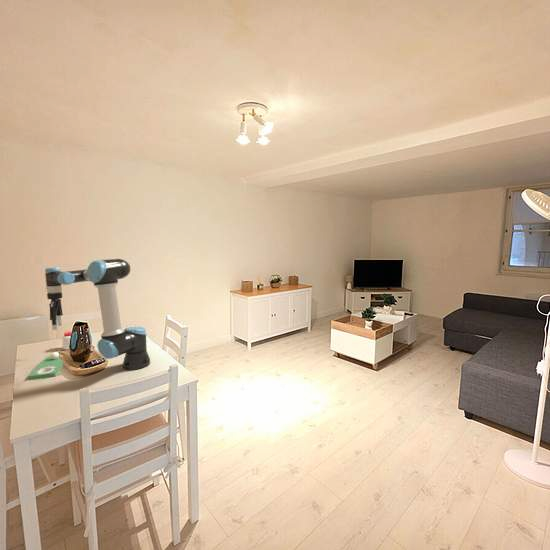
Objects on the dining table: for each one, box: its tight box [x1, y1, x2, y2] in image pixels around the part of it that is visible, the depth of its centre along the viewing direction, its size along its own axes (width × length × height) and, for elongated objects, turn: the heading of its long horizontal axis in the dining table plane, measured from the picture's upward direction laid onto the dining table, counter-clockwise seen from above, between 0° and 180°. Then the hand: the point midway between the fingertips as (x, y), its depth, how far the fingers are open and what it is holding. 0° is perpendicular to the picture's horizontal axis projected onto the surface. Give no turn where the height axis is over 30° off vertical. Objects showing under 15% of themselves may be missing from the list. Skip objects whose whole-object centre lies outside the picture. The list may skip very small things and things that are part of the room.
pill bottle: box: [61, 331, 72, 350], centre depth 207 cm, size 8×8×11 cm
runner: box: [28, 355, 64, 381], centre depth 177 cm, size 12×28×2 cm, turn 21°
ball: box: [50, 351, 60, 359], centre depth 184 cm, size 4×4×4 cm
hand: (57, 327), depth 190 cm, fingers open, 8 cm apart
